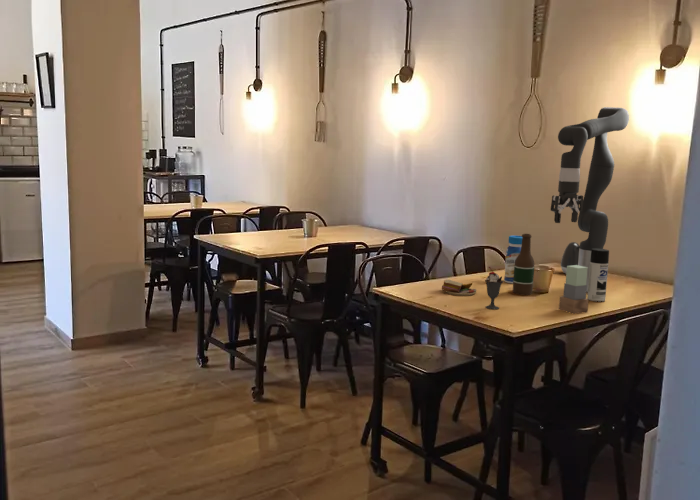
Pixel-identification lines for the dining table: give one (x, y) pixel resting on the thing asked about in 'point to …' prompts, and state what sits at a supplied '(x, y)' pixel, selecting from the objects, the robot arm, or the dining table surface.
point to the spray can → (598, 274)
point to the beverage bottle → (512, 257)
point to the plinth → (573, 305)
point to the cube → (575, 292)
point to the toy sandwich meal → (458, 288)
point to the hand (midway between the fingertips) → (565, 222)
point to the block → (576, 275)
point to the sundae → (493, 288)
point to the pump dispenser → (570, 256)
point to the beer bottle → (524, 268)
